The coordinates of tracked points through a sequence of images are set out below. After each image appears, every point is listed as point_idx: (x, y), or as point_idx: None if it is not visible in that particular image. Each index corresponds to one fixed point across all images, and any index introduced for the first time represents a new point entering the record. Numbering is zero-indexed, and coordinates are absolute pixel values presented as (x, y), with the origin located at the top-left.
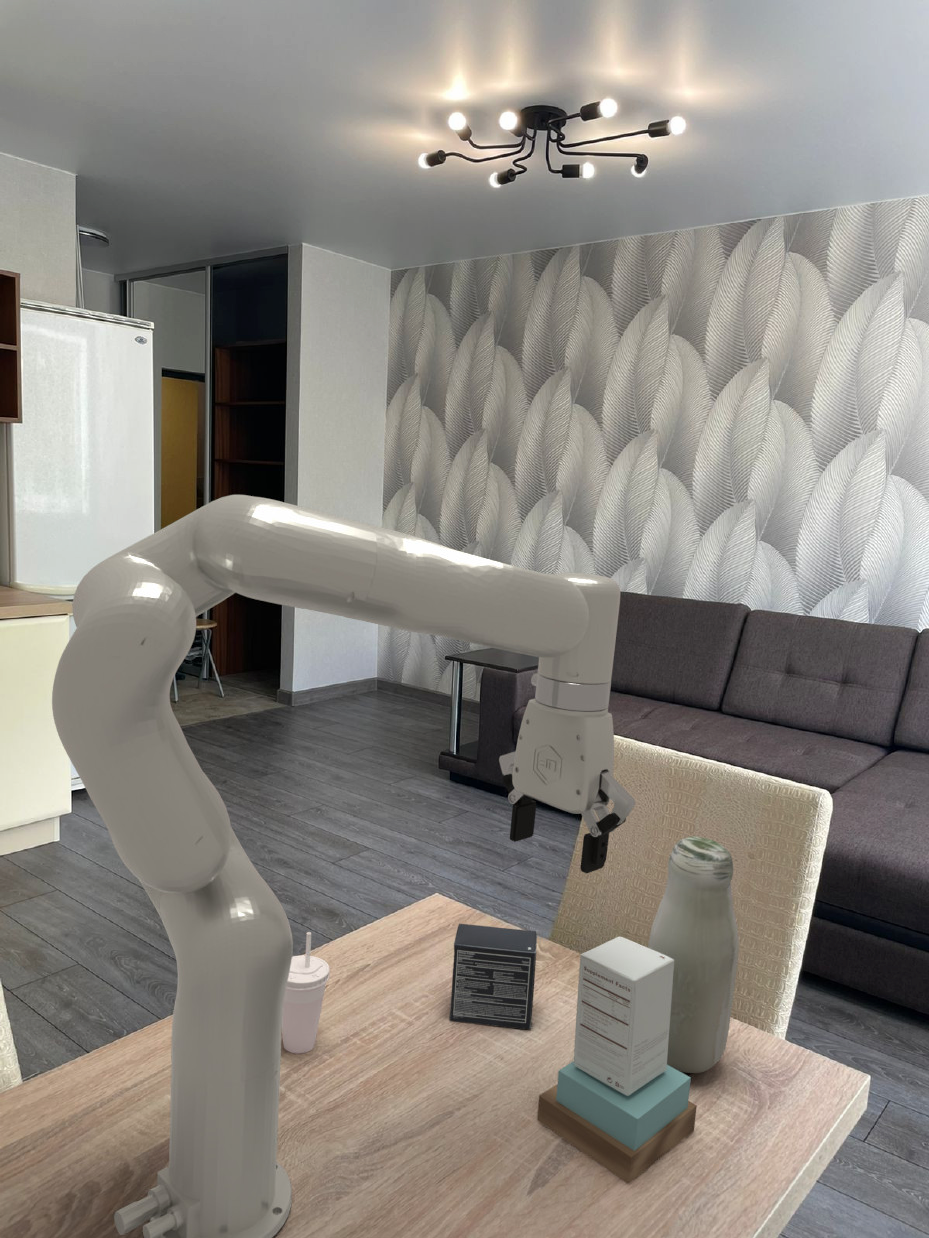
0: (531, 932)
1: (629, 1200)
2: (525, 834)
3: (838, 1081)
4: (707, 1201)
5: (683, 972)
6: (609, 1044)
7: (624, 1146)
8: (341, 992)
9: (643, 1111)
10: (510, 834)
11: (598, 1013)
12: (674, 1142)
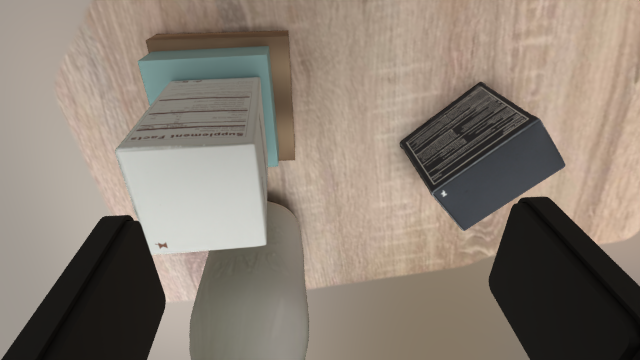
0: (467, 223)
1: (136, 13)
2: (506, 261)
3: (165, 295)
4: (98, 81)
5: (224, 275)
6: (192, 96)
7: (164, 48)
8: (634, 5)
9: (146, 79)
10: (556, 207)
11: (211, 108)
12: None
